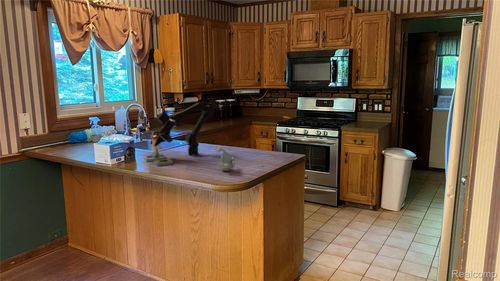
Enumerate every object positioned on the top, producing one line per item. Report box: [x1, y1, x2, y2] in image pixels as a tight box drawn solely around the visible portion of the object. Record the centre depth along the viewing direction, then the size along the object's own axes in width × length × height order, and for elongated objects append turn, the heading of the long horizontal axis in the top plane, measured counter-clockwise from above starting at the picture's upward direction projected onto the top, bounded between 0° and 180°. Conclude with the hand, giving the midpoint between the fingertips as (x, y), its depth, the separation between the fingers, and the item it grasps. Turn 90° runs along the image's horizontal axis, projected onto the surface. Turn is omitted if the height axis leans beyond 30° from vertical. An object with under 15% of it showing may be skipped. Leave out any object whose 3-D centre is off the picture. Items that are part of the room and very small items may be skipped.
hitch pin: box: [150, 134, 161, 158], centre depth 252 cm, size 6×6×16 cm
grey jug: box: [216, 146, 236, 172], centre depth 219 cm, size 17×10×15 cm, turn 5°
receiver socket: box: [154, 158, 174, 167], centre depth 239 cm, size 9×9×2 cm
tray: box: [144, 153, 168, 163], centre depth 253 cm, size 13×10×2 cm
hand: (152, 145), depth 251 cm, fingers open, 9 cm apart
